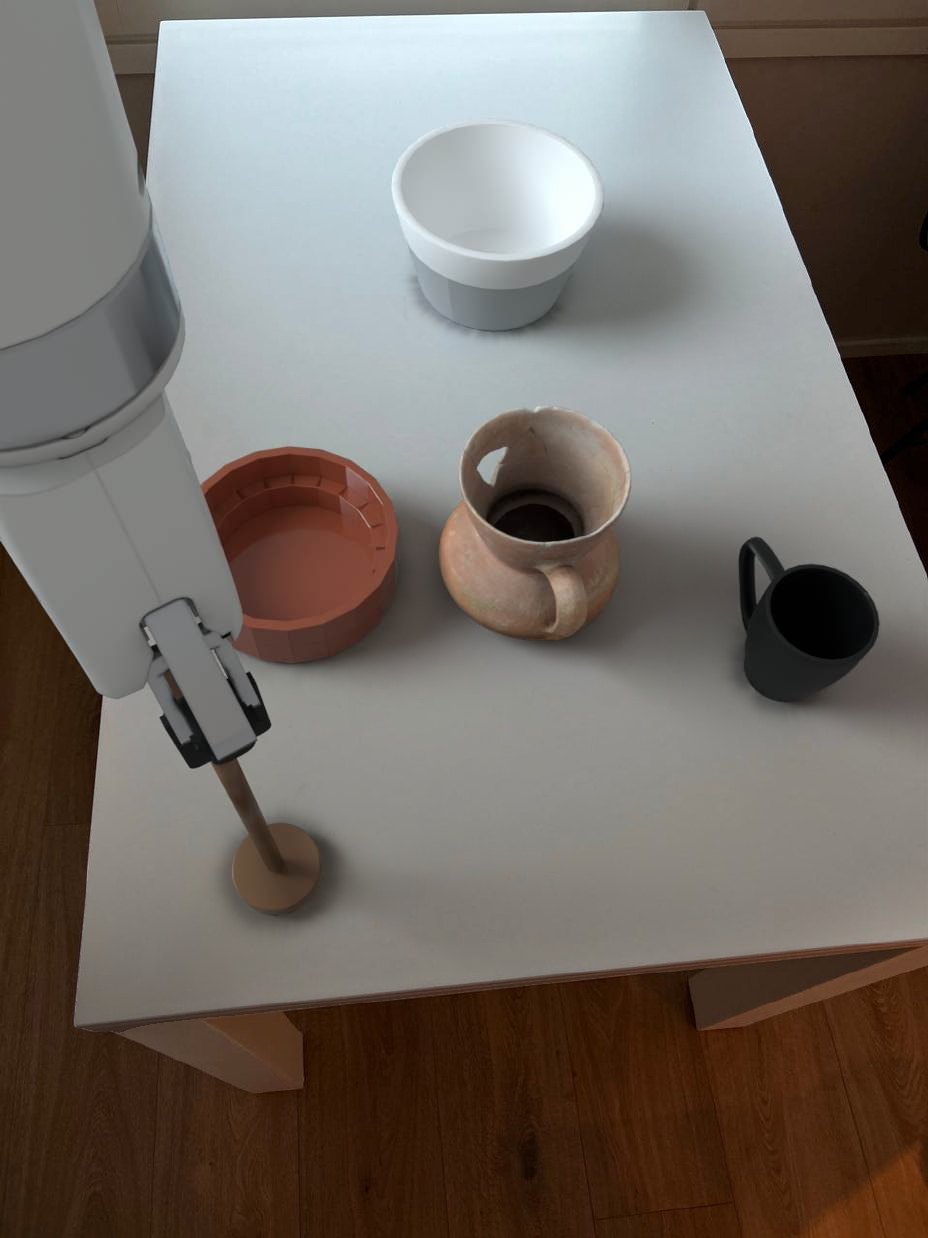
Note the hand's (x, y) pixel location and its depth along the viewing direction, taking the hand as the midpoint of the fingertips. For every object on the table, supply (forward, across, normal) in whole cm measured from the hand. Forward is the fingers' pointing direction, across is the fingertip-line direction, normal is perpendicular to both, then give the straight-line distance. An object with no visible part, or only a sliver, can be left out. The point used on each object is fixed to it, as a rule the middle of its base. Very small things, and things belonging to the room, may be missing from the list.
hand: (174, 640), depth 37 cm
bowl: (+35, -42, +44) cm, 70 cm away
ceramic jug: (+35, -11, +27) cm, 46 cm away
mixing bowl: (+35, -21, +11) cm, 42 cm away
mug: (+36, +4, +40) cm, 54 cm away
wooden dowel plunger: (+35, 0, -1) cm, 35 cm away
